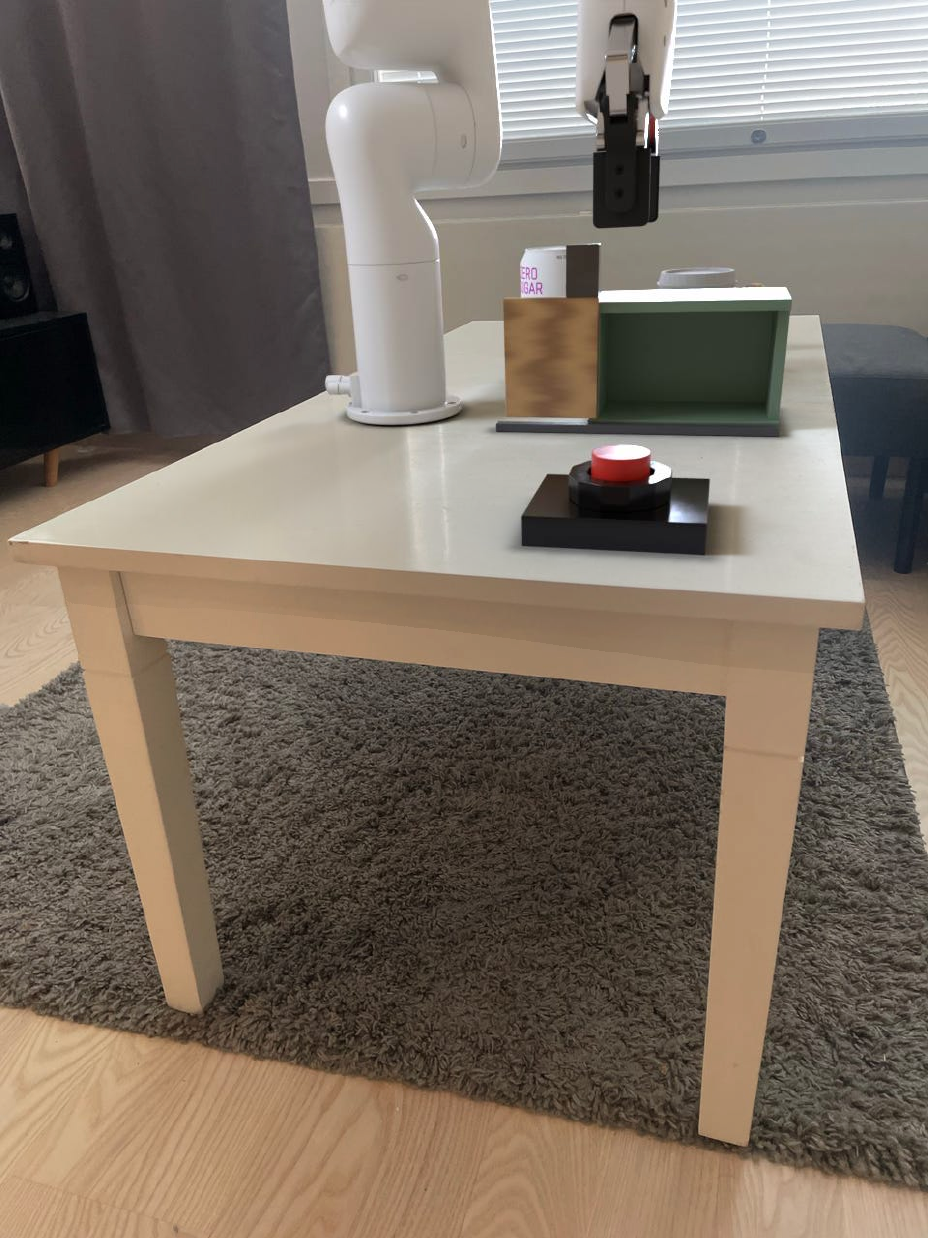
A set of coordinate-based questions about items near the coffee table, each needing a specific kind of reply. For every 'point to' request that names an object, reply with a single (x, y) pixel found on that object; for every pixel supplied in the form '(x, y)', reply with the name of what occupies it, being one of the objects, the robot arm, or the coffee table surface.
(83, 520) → the coffee table surface
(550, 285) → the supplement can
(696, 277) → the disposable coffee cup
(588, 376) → the sliding door
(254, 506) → the coffee table surface
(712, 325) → the cabinet
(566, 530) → the button box
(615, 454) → the button
